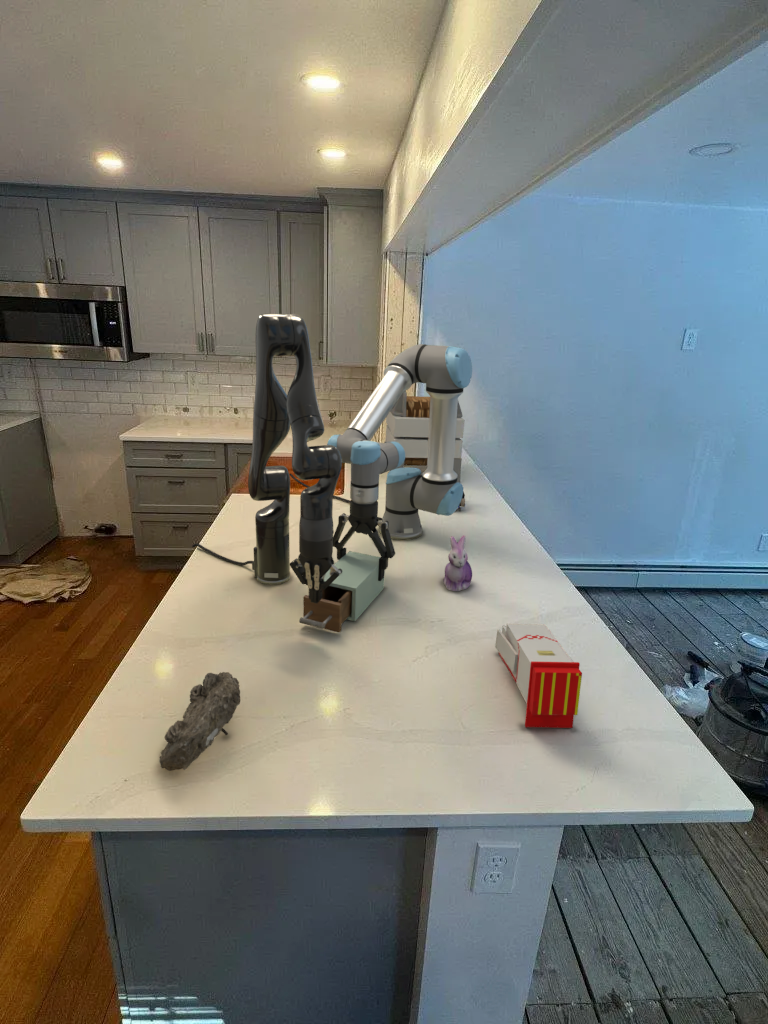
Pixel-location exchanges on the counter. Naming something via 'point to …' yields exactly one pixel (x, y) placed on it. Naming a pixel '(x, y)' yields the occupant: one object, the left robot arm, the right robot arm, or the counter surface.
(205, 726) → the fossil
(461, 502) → the figurine character
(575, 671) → the toy
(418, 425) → the white wooden crate
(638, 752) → the counter surface
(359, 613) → the cabinet
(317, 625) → the drawer
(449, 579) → the figurine
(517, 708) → the counter surface
